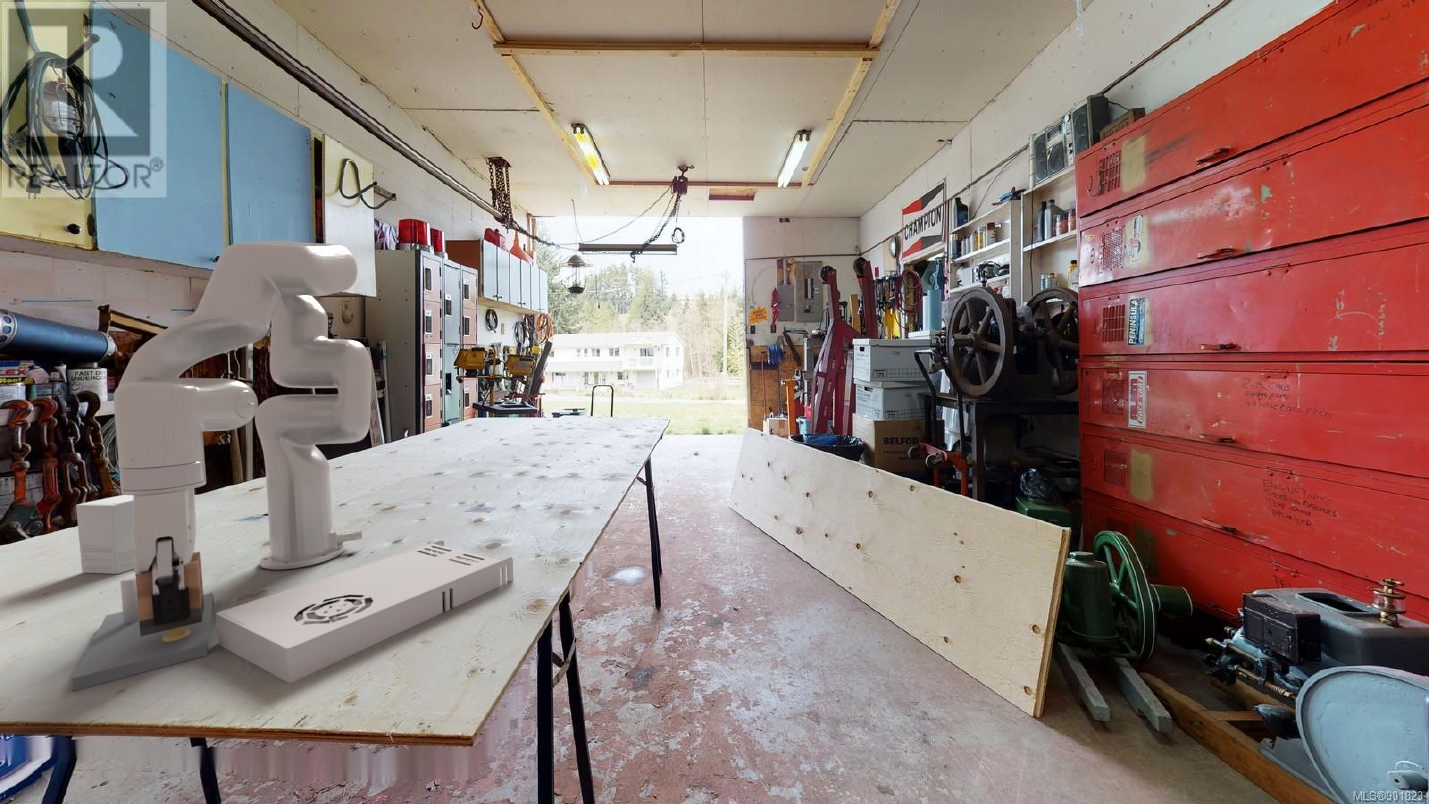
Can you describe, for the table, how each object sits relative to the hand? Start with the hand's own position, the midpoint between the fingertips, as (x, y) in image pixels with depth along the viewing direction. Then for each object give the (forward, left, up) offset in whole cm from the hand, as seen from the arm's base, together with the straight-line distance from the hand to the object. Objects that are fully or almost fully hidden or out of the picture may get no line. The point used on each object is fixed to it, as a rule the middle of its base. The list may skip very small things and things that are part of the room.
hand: (175, 611), depth 68 cm
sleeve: (0, 0, -1) cm, 1 cm away
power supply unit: (-23, +5, -6) cm, 24 cm away
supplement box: (+10, -46, -5) cm, 47 cm away
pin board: (+3, -5, -5) cm, 7 cm away
